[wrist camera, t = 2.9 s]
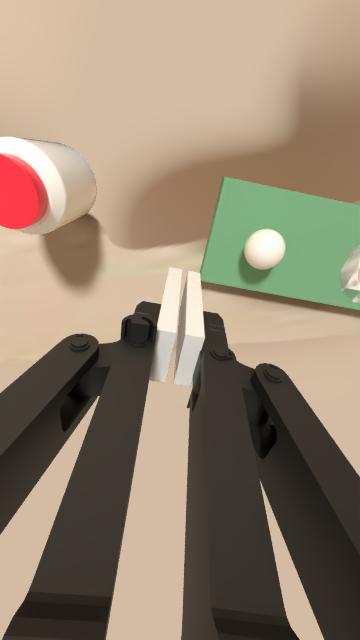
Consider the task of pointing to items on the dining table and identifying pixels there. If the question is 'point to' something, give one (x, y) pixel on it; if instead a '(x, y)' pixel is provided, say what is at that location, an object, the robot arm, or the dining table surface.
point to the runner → (286, 243)
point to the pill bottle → (42, 185)
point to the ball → (264, 249)
